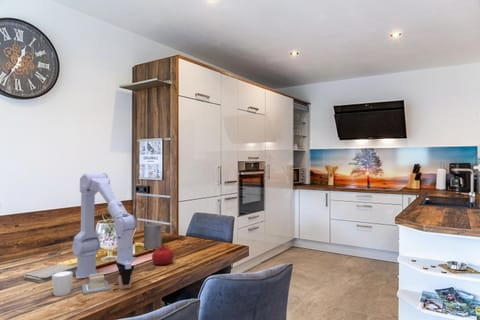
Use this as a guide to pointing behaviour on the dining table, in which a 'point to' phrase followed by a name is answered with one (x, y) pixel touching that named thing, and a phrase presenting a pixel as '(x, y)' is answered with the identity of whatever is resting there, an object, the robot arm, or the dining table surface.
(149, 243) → the pillar candle
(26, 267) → the dining table surface
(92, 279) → the base block
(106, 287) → the base plate
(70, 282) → the grey cylinder
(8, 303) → the dining table surface
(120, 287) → the top block
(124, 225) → the robot arm
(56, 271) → the washcloth
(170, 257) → the pomegranate
